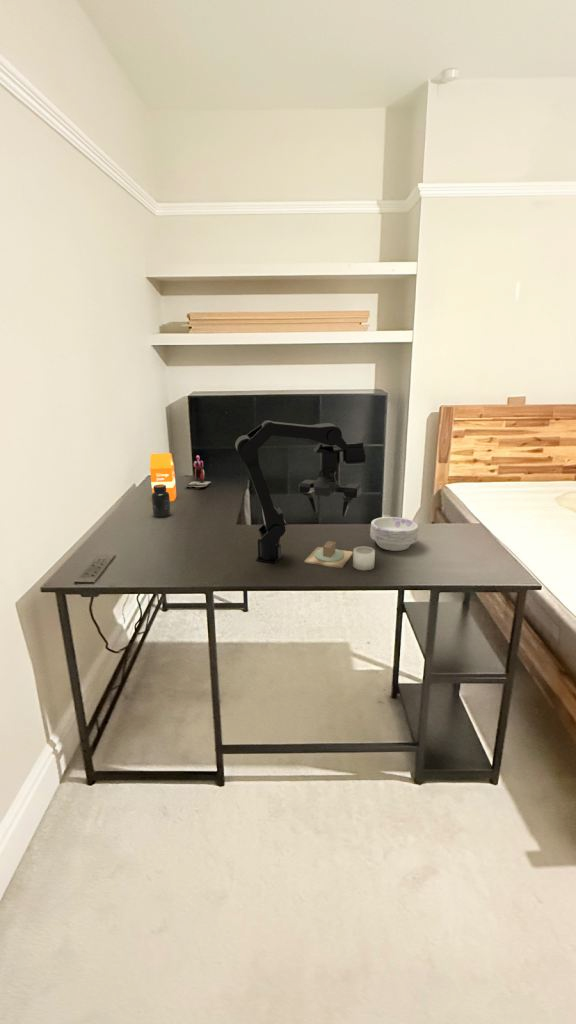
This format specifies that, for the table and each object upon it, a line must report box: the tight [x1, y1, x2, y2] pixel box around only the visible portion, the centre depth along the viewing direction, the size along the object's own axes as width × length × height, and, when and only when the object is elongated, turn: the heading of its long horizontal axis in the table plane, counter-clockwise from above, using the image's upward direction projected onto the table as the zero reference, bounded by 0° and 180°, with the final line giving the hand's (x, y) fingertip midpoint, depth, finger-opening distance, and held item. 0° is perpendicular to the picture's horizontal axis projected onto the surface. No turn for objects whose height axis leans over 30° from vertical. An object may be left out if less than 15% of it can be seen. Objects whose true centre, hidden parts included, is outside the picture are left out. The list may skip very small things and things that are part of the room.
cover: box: [315, 540, 344, 562], centre depth 164 cm, size 9×9×4 cm
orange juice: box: [149, 452, 177, 502], centre depth 224 cm, size 8×9×20 cm
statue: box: [185, 455, 211, 490], centre depth 244 cm, size 11×9×15 cm
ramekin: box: [352, 545, 376, 571], centre depth 158 cm, size 6×6×5 cm
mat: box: [304, 546, 353, 569], centre depth 164 cm, size 12×12×1 cm
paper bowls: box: [369, 516, 419, 552], centre depth 172 cm, size 15×15×8 cm
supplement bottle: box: [151, 484, 172, 519], centre depth 205 cm, size 7×7×12 cm
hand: (329, 515), depth 164 cm, fingers open, 9 cm apart
